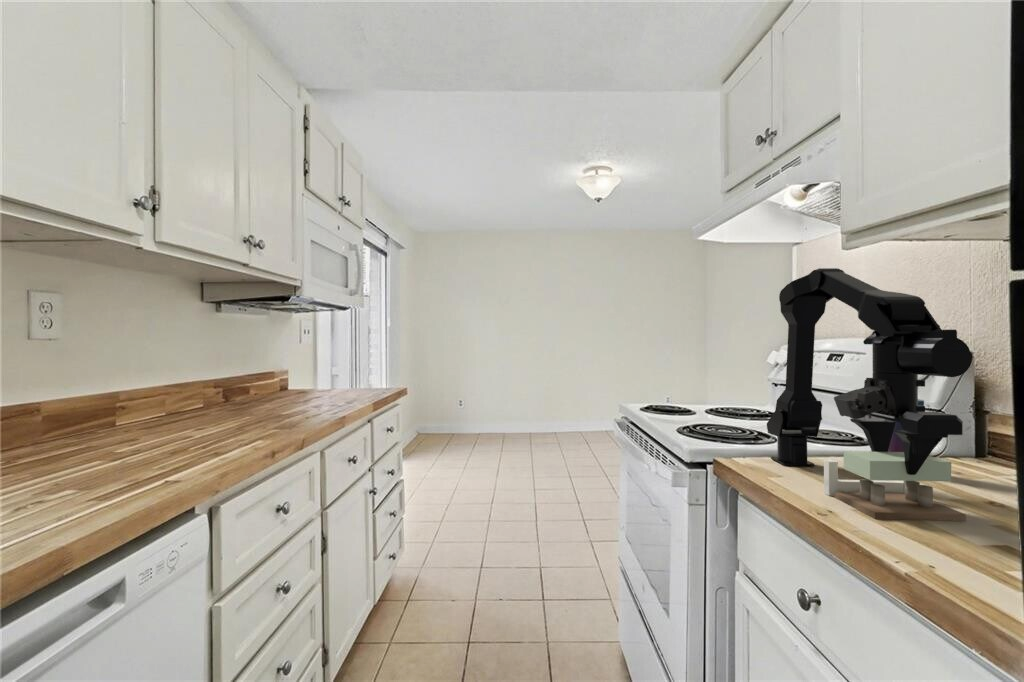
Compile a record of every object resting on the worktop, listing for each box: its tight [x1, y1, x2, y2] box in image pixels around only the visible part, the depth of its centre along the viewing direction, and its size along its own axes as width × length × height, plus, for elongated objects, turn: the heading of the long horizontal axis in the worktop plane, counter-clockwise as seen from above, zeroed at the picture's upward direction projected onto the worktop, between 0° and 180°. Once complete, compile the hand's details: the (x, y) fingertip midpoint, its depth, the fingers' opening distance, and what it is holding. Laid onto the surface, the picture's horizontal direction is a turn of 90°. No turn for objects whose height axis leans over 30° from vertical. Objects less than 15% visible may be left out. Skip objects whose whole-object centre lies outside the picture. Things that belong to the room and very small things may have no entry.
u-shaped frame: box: [823, 459, 905, 497], centre depth 83 cm, size 2×14×6 cm, turn 86°
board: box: [843, 450, 952, 482], centre depth 76 cm, size 12×6×3 cm, turn 86°
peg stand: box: [834, 478, 967, 522], centre depth 76 cm, size 10×13×4 cm
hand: (894, 468), depth 76 cm, fingers closed on board, 6 cm apart
